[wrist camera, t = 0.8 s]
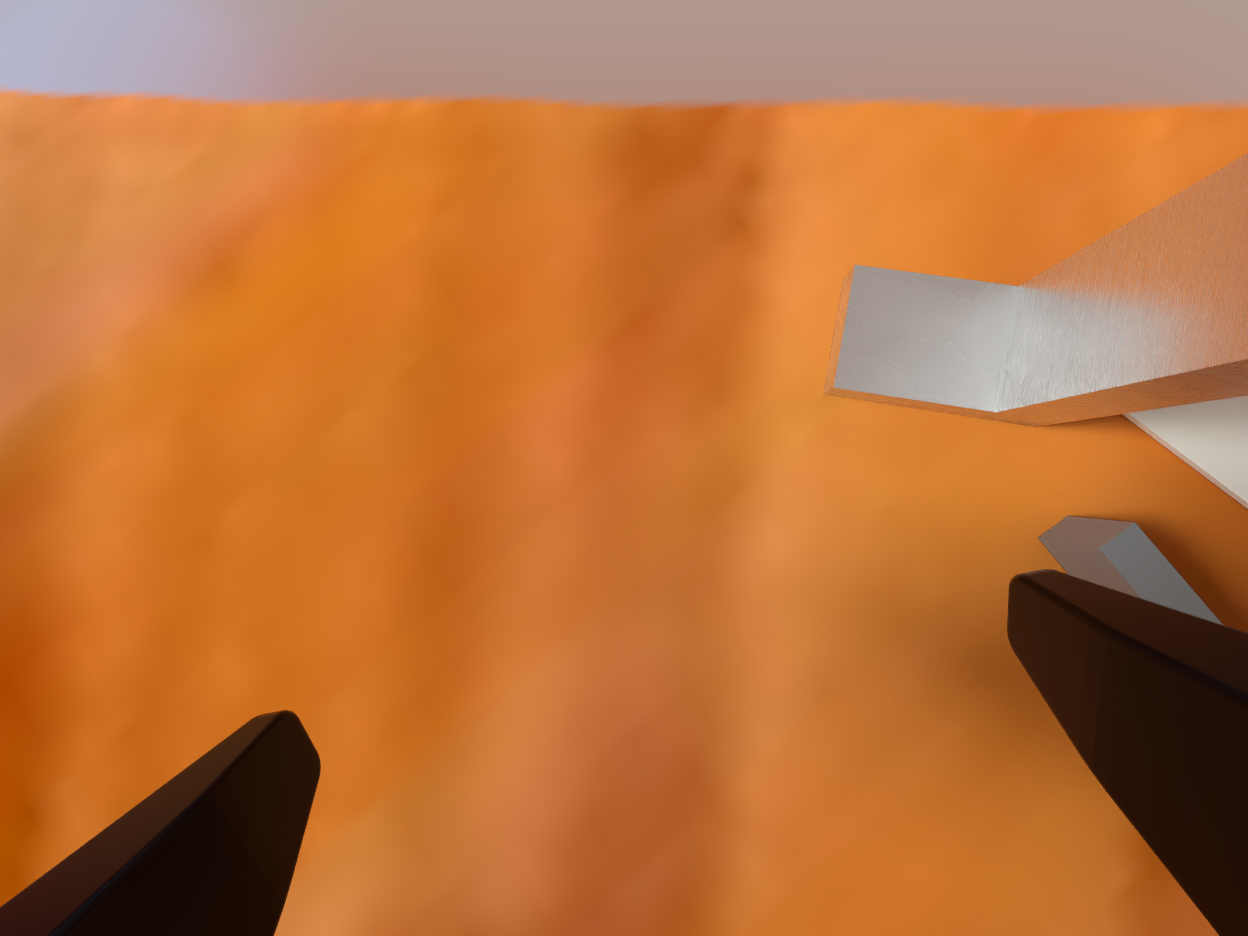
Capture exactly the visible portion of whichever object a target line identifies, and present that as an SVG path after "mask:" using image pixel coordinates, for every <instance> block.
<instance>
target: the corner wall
mask: <svg viewBox="0 0 1248 936" xmlns="http://www.w3.org/2000/svg"><path fill="white" fill-rule="evenodd" d="M1038 539H1039V540H1040V541H1041V542H1042V543H1043V545H1044V546H1045V547H1046V548H1047V549H1048V551H1049V552H1050V553H1051V554H1052V555H1053V557H1054V558H1055V559H1056V560H1057V561H1058V562H1059V564H1060V565H1061V566H1062V567H1063V568H1064V570H1065V571H1066V572H1067V573H1068V574H1069V575H1071V576H1074V577H1077V578H1080V579H1083V580H1086V581H1089V582H1092V583H1095V584H1099V585H1102V586H1105V587H1108V588H1111V589H1114V590H1117V591H1120V592H1123V593H1126V594H1129V595H1132V596H1135V597H1138V598H1141V599H1144V600H1148V601H1151V602H1154V603H1157V604H1160V605H1163V606H1166V607H1169V608H1172V609H1175V610H1178V611H1181V612H1184V613H1187V614H1190V615H1193V616H1197V617H1200V618H1203V619H1206V620H1209V621H1212V622H1215V623H1218V624H1221V625H1223V624H1222V623H1221V622H1220V621H1219V619H1218V618H1217V617H1216V616H1215V615H1214V614H1213V612H1212V611H1211V610H1210V609H1209V608H1208V607H1207V606H1206V604H1205V603H1204V602H1203V601H1202V600H1201V599H1200V597H1199V596H1198V595H1197V594H1196V593H1195V592H1194V590H1193V589H1192V588H1191V587H1190V586H1189V585H1188V583H1187V582H1186V581H1185V580H1184V579H1183V578H1182V576H1181V575H1180V574H1179V573H1178V572H1177V571H1176V569H1175V568H1174V567H1173V566H1172V565H1171V564H1170V562H1169V561H1168V560H1167V559H1166V558H1165V557H1164V555H1163V554H1162V553H1161V552H1160V551H1159V550H1158V548H1157V547H1156V546H1155V545H1154V544H1153V543H1152V542H1151V540H1150V539H1149V538H1148V537H1147V536H1146V535H1145V533H1144V532H1143V531H1142V530H1141V529H1140V528H1139V526H1138V525H1137V524H1136V523H1135V522H1126V521H1116V520H1106V519H1096V518H1085V517H1075V516H1067V517H1066V518H1064V519H1063V520H1062V521H1060V522H1059V523H1058V524H1056V525H1055V526H1053V527H1052V528H1051V529H1049V530H1048V531H1047V532H1045V533H1044V534H1043V535H1041V536H1040V537H1039V538H1038Z"/></svg>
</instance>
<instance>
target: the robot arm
mask: <svg viewBox="0 0 1248 936" xmlns="http://www.w3.org/2000/svg"><path fill="white" fill-rule="evenodd" d="M1007 633H1008V639H1009V642H1010V645H1011V647H1012V649H1013V651H1014V653H1015V654H1016V656H1017V657H1018V659H1019V660H1020V662H1021V664H1022V665H1023V667H1024V668H1025V670H1026V671H1027V673H1028V675H1029V676H1030V678H1031V679H1032V681H1033V682H1034V684H1035V686H1036V687H1037V689H1038V690H1039V692H1040V693H1041V695H1042V696H1043V698H1044V700H1045V701H1046V703H1047V704H1048V706H1049V707H1050V709H1051V711H1052V712H1053V714H1054V715H1055V717H1056V718H1057V720H1058V721H1059V723H1060V725H1061V726H1062V728H1063V729H1064V731H1065V732H1066V734H1067V736H1068V737H1069V739H1070V740H1071V742H1072V743H1073V745H1074V746H1075V748H1076V750H1077V751H1078V753H1079V754H1080V755H1081V757H1082V758H1083V760H1084V761H1085V763H1086V764H1087V766H1088V767H1089V769H1090V770H1091V772H1092V773H1093V774H1094V776H1095V777H1096V778H1097V780H1098V781H1099V782H1100V784H1101V785H1102V786H1103V788H1104V789H1105V790H1106V792H1107V793H1108V794H1109V795H1110V797H1111V798H1112V799H1113V800H1114V802H1115V803H1116V804H1117V806H1118V807H1119V808H1120V809H1121V811H1122V812H1123V813H1124V815H1125V816H1126V817H1127V818H1128V820H1129V821H1130V822H1131V823H1132V825H1133V826H1134V827H1135V829H1136V830H1137V831H1138V832H1139V834H1140V835H1141V836H1142V837H1143V839H1144V840H1145V841H1146V843H1147V844H1148V845H1149V846H1150V848H1151V849H1152V850H1153V852H1154V853H1155V854H1156V855H1157V857H1158V858H1159V859H1160V860H1161V862H1162V863H1163V864H1164V866H1165V867H1166V868H1167V869H1168V871H1169V872H1170V873H1171V875H1172V876H1173V877H1174V878H1175V880H1176V881H1177V882H1178V883H1179V885H1180V886H1181V887H1182V889H1183V890H1184V891H1185V892H1186V894H1187V895H1188V896H1189V898H1190V899H1191V900H1192V901H1193V903H1194V904H1195V905H1196V906H1197V908H1198V909H1199V910H1200V912H1201V913H1202V914H1203V915H1204V917H1205V918H1206V919H1207V920H1208V922H1209V923H1210V924H1211V926H1212V927H1213V928H1214V929H1215V931H1216V932H1217V933H1218V935H1219V936H1248V633H1246V632H1243V631H1239V630H1236V629H1233V628H1230V627H1227V626H1224V625H1221V624H1218V623H1215V622H1212V621H1209V620H1206V619H1203V618H1200V617H1197V616H1193V615H1190V614H1187V613H1184V612H1181V611H1178V610H1175V609H1172V608H1169V607H1166V606H1163V605H1160V604H1157V603H1154V602H1151V601H1148V600H1144V599H1141V598H1138V597H1135V596H1132V595H1129V594H1126V593H1123V592H1120V591H1117V590H1114V589H1111V588H1108V587H1105V586H1102V585H1099V584H1095V583H1092V582H1089V581H1086V580H1083V579H1080V578H1077V577H1074V576H1071V575H1068V574H1065V573H1062V572H1059V571H1056V570H1052V569H1043V570H1038V571H1032V572H1027V573H1022V574H1018V575H1016V576H1014V577H1013V578H1012V579H1011V581H1010V584H1009V597H1008V620H1007ZM320 768H321V766H320V758H319V755H318V752H317V750H316V749H315V747H314V745H313V743H312V741H311V740H310V738H309V736H308V734H307V732H306V730H305V729H304V727H303V725H302V723H301V721H300V719H299V718H298V716H297V715H296V714H295V713H293V712H292V711H288V710H283V711H278V712H272V713H267V714H262V715H259V716H256V717H254V718H253V719H251V720H250V721H249V722H247V723H246V724H245V725H243V726H242V727H241V728H239V729H238V730H237V731H235V732H234V733H233V734H231V735H230V736H229V737H227V738H226V739H225V740H223V741H222V742H221V743H219V744H218V745H217V746H215V747H214V748H212V749H211V750H210V751H208V752H207V753H206V754H204V755H203V756H202V757H200V758H199V759H198V760H196V761H195V762H194V763H192V764H191V765H190V766H188V767H187V768H186V769H184V770H183V771H182V772H180V773H179V774H178V775H176V776H175V777H174V778H172V779H171V780H170V781H168V782H167V783H166V784H164V785H163V786H162V787H160V788H159V789H158V790H156V791H155V792H154V793H152V794H151V795H150V796H148V797H147V798H146V799H144V800H143V801H142V802H140V803H139V804H138V805H136V806H135V807H134V808H132V809H131V810H130V811H128V812H127V813H126V814H124V815H123V816H122V817H120V818H119V819H118V820H116V821H115V822H114V823H112V824H111V825H110V826H108V827H107V828H106V829H104V830H103V831H102V832H100V833H99V834H98V835H96V836H95V837H94V838H92V839H91V840H90V841H88V842H87V843H86V844H84V845H83V846H81V847H80V848H79V849H77V850H76V851H75V852H73V853H72V854H71V855H69V856H68V857H67V858H65V859H64V860H63V861H61V862H60V863H59V864H57V865H56V866H55V867H53V868H52V869H51V870H49V871H48V872H47V873H45V874H44V875H43V876H41V877H40V878H39V879H37V880H36V881H35V882H33V883H32V884H31V885H29V886H28V887H27V888H25V889H24V890H23V891H21V892H20V893H19V894H17V895H16V896H15V897H13V898H12V899H11V900H9V901H8V902H7V903H5V904H4V905H3V906H1V907H0V936H274V933H275V931H276V928H277V925H278V922H279V919H280V916H281V913H282V910H283V907H284V904H285V901H286V898H287V894H288V891H289V887H290V884H291V881H292V877H293V873H294V870H295V866H296V862H297V859H298V855H299V851H300V847H301V844H302V840H303V836H304V833H305V829H306V825H307V821H308V818H309V814H310V810H311V807H312V803H313V799H314V795H315V792H316V788H317V784H318V781H319V777H320Z"/></svg>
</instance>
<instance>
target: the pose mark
mask: <svg viewBox="0 0 1248 936" xmlns="http://www.w3.org/2000/svg"><path fill="white" fill-rule="evenodd" d="M1122 415H1123V416H1125V417H1126V418H1127V419H1129V420H1130V421H1131V422H1133V423H1134V424H1135V425H1137V426H1138V427H1139V428H1141V429H1142V430H1143V431H1145V432H1146V433H1147V434H1149V435H1150V436H1151V437H1153V438H1154V439H1155V440H1157V441H1158V442H1159V443H1161V444H1162V445H1163V446H1165V447H1166V448H1167V449H1169V450H1170V451H1171V452H1172V453H1174V454H1175V455H1176V456H1178V457H1179V458H1180V459H1182V460H1183V461H1184V462H1186V463H1187V464H1188V465H1190V466H1191V467H1192V468H1194V469H1195V470H1196V471H1198V472H1199V473H1200V474H1202V475H1203V476H1204V477H1206V478H1207V479H1208V480H1210V481H1211V482H1212V483H1214V484H1215V485H1216V486H1218V487H1219V488H1220V489H1222V490H1223V491H1224V492H1226V493H1227V494H1228V495H1230V496H1231V497H1232V498H1234V499H1235V500H1236V501H1238V502H1239V503H1240V504H1242V505H1243V506H1244V507H1246V508H1247V509H1248V396H1241V397H1234V398H1228V399H1221V400H1214V401H1207V402H1200V403H1194V404H1187V405H1180V406H1173V407H1166V408H1160V409H1153V410H1146V411H1139V412H1132V413H1126V414H1122Z"/></svg>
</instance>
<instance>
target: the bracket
mask: <svg viewBox="0 0 1248 936" xmlns="http://www.w3.org/2000/svg"><path fill="white" fill-rule="evenodd" d="M823 394H826V395H833V396H839V397H846V398H852V399H859V400H865V401H872V402H878V403H885V404H891V405H898V406H904V407H911V408H917V409H924V410H930V411H937V412H943V413H950V414H956V415H963V416H969V417H976V418H982V419H989V420H995V421H1002V422H1008V423H1015V424H1021V425H1028V426H1034V427H1037V426H1044V425H1051V424H1058V423H1065V422H1071V421H1078V420H1085V419H1092V418H1098V417H1105V416H1112V415H1119V414H1126V413H1132V412H1139V411H1146V410H1153V409H1160V408H1166V407H1173V406H1180V405H1187V404H1194V403H1200V402H1207V401H1214V400H1221V399H1228V398H1234V397H1241V396H1248V153H1247V154H1246V155H1244V156H1242V157H1240V158H1239V159H1237V160H1235V161H1234V162H1232V163H1230V164H1228V165H1227V166H1225V167H1223V168H1221V169H1220V170H1218V171H1216V172H1215V173H1213V174H1211V175H1209V176H1208V177H1206V178H1204V179H1202V180H1201V181H1199V182H1197V183H1196V184H1194V185H1192V186H1190V187H1189V188H1187V189H1185V190H1183V191H1182V192H1180V193H1178V194H1176V195H1175V196H1173V197H1171V198H1170V199H1168V200H1166V201H1164V202H1163V203H1161V204H1159V205H1157V206H1156V207H1154V208H1152V209H1151V210H1149V211H1147V212H1145V213H1144V214H1142V215H1140V216H1138V217H1137V218H1135V219H1133V220H1132V221H1130V222H1128V223H1126V224H1125V225H1123V226H1121V227H1119V228H1118V229H1116V230H1114V231H1113V232H1111V233H1109V234H1107V235H1106V236H1104V237H1102V238H1100V239H1099V240H1097V241H1095V242H1094V243H1092V244H1090V245H1088V246H1087V247H1085V248H1083V249H1081V250H1080V251H1078V252H1076V253H1074V254H1073V255H1071V256H1069V257H1068V258H1066V259H1064V260H1062V261H1061V262H1059V263H1057V264H1055V265H1054V266H1052V267H1050V268H1049V269H1047V270H1045V271H1043V272H1042V273H1040V274H1038V275H1036V276H1035V277H1033V278H1031V279H1030V280H1028V281H1026V282H1024V283H1023V284H1021V285H1019V286H1013V285H1005V284H998V283H990V282H982V281H975V280H967V279H960V278H952V277H944V276H937V275H929V274H921V273H914V272H906V271H898V270H891V269H883V268H876V267H868V266H860V265H854V266H853V268H852V269H851V270H850V272H849V273H848V274H847V275H846V277H845V278H844V279H843V282H842V288H841V293H840V299H839V305H838V311H837V317H836V322H835V328H834V334H833V340H832V346H831V351H830V357H829V363H828V369H827V375H826V380H825V386H824V392H823Z"/></svg>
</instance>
